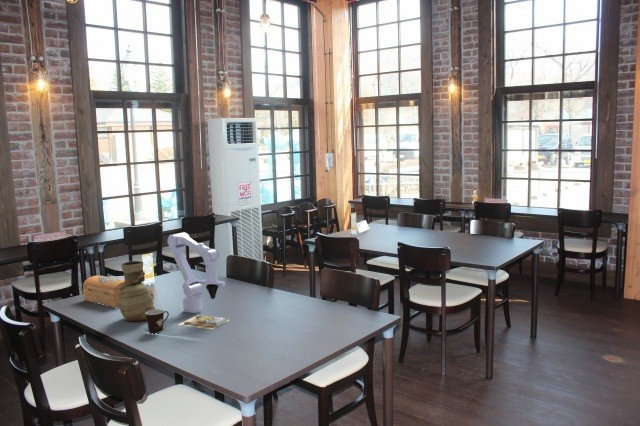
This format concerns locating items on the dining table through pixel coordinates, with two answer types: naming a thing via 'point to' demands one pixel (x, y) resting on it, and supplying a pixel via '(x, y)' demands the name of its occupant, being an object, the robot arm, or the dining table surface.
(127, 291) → the ceramic vessel
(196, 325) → the jig board
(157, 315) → the coffee mug
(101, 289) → the wooden box
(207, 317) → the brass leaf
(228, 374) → the dining table surface
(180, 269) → the robot arm
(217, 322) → the panel
